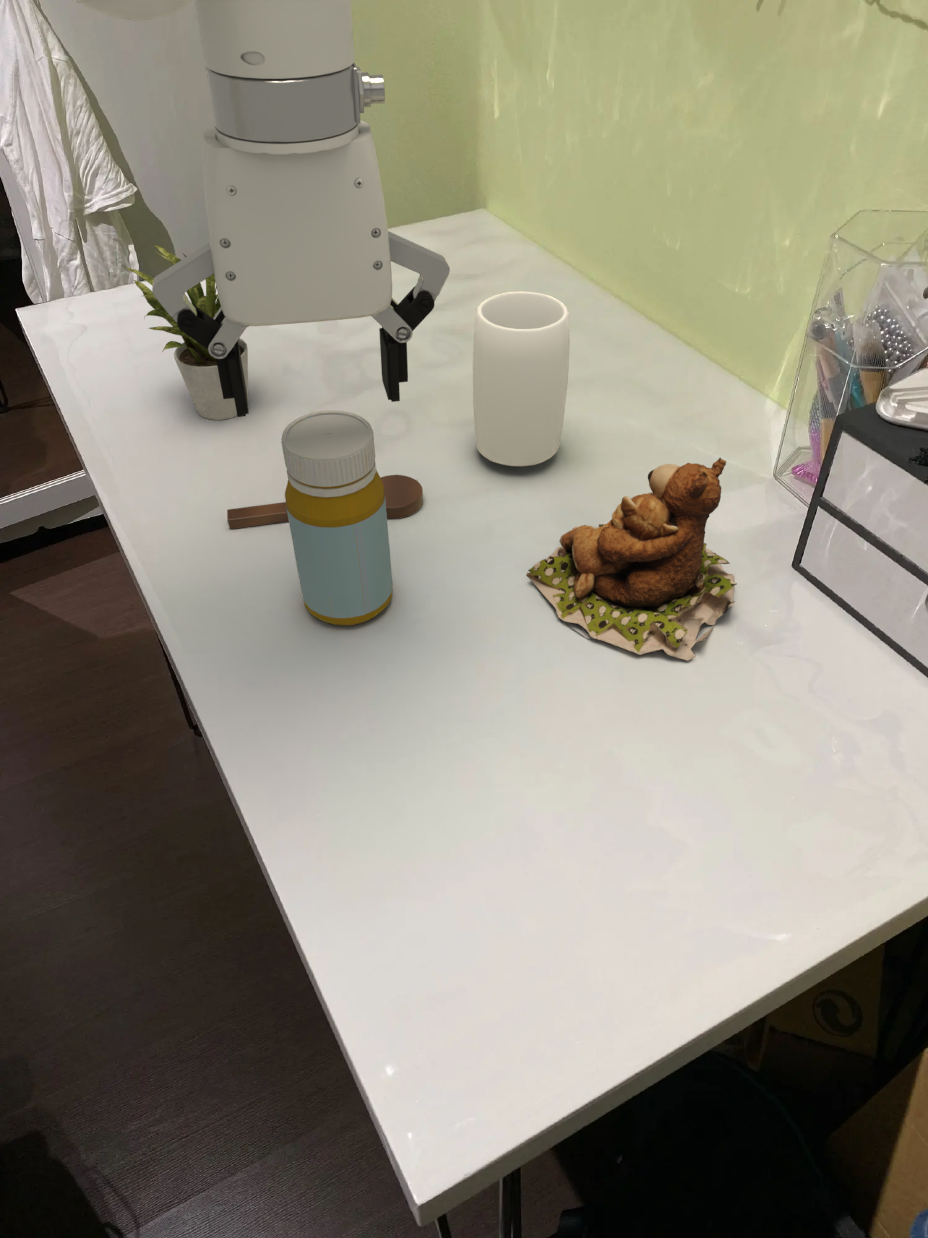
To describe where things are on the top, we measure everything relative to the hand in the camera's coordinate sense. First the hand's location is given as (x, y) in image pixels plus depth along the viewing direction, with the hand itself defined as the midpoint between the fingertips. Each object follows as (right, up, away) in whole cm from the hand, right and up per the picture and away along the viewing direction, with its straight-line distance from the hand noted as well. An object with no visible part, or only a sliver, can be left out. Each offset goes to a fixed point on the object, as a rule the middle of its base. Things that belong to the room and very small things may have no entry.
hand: (317, 398), depth 59 cm
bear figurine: (+23, -12, +13) cm, 29 cm away
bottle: (0, -13, +12) cm, 18 cm away
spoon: (-2, -5, +21) cm, 22 cm away
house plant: (-14, +8, +35) cm, 38 cm away
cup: (+15, +1, +27) cm, 31 cm away
